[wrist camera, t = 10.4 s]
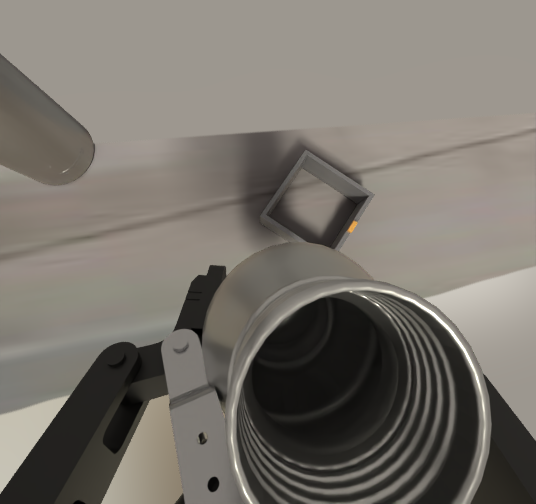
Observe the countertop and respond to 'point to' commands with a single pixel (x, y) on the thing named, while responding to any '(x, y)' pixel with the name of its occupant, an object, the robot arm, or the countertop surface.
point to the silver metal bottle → (342, 385)
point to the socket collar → (333, 180)
